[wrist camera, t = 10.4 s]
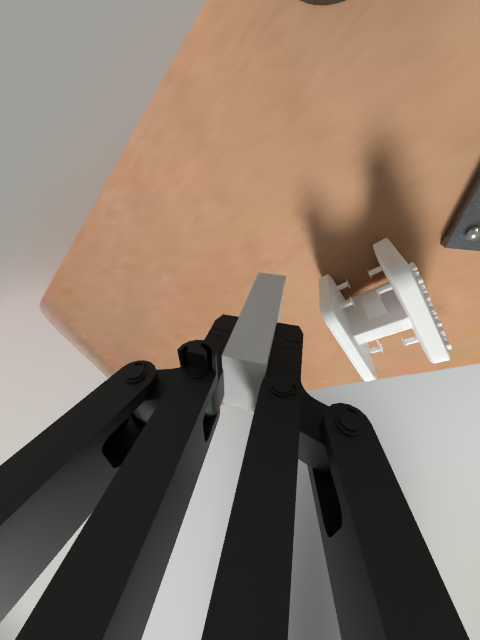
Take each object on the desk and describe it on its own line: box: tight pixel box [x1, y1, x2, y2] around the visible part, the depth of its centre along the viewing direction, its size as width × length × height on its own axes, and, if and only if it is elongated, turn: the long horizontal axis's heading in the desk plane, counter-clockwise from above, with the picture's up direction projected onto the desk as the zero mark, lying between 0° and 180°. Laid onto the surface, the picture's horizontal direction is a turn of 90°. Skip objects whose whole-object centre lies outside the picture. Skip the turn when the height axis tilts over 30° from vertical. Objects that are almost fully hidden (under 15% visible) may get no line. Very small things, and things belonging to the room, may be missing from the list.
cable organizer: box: [319, 238, 452, 382], centre depth 32 cm, size 15×11×12 cm
